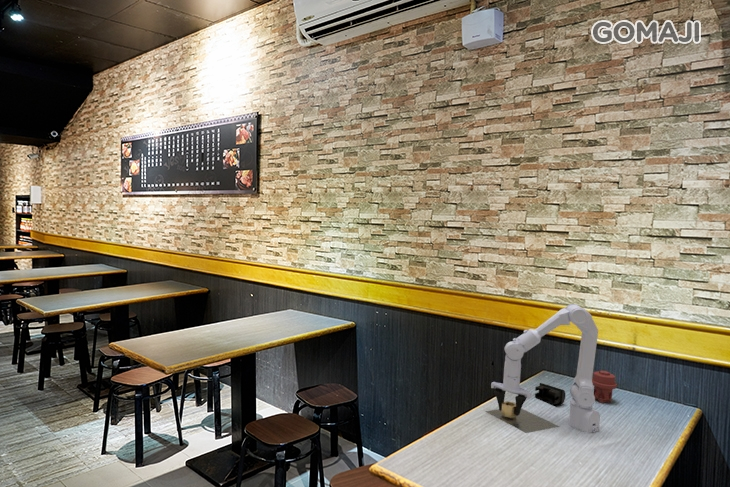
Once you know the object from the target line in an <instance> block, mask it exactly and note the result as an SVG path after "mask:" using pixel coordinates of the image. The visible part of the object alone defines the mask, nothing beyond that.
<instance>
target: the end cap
mask: <svg viewBox="0 0 730 487" xmlns="http://www.w3.org/2000/svg"><path fill="white" fill-rule="evenodd" d="M534 390H535V393H534V398H535V399H536V400H539V401H541V402H543V403H545V404H548V405H551V406H553V407H555V408H558V407H561V406H562V405H563V404H564V402H565V400H566V395H567V394H566V391H565V390H564V389H561V388H559V387H555V386H552V385H550V384H546V383H543V382H540V383H539V385H537V386H535V388H534ZM537 391H538V392H537Z"/></svg>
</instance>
